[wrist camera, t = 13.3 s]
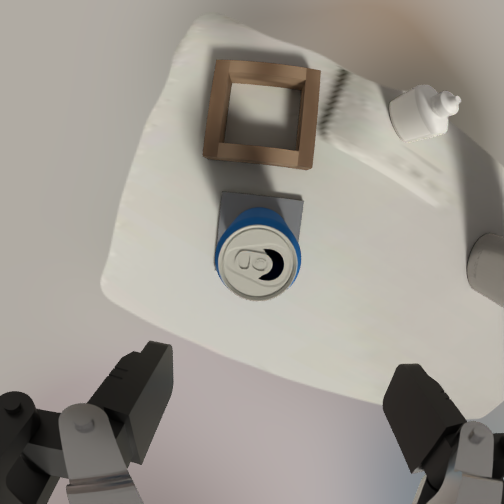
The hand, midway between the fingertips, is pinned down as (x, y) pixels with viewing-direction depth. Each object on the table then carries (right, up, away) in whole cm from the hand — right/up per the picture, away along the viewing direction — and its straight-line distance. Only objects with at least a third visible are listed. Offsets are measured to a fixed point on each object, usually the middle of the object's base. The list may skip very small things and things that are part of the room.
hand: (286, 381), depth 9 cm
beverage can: (0, +6, +23) cm, 24 cm away
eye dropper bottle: (+17, +20, +20) cm, 33 cm away
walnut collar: (0, +19, +21) cm, 28 cm away
